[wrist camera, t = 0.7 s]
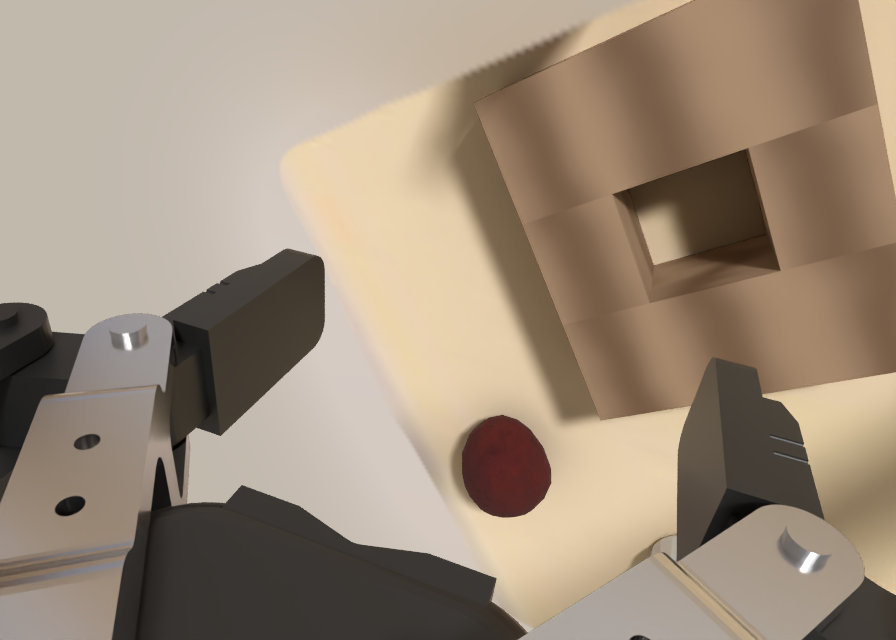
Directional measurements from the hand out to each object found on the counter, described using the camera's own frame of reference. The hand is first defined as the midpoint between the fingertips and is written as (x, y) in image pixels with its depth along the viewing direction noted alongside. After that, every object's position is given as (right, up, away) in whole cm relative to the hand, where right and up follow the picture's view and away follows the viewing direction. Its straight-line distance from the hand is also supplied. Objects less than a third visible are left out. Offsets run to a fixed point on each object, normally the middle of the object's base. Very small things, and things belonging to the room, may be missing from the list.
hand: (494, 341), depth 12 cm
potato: (+5, -10, +40) cm, 41 cm away
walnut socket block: (+15, +8, +26) cm, 31 cm away
